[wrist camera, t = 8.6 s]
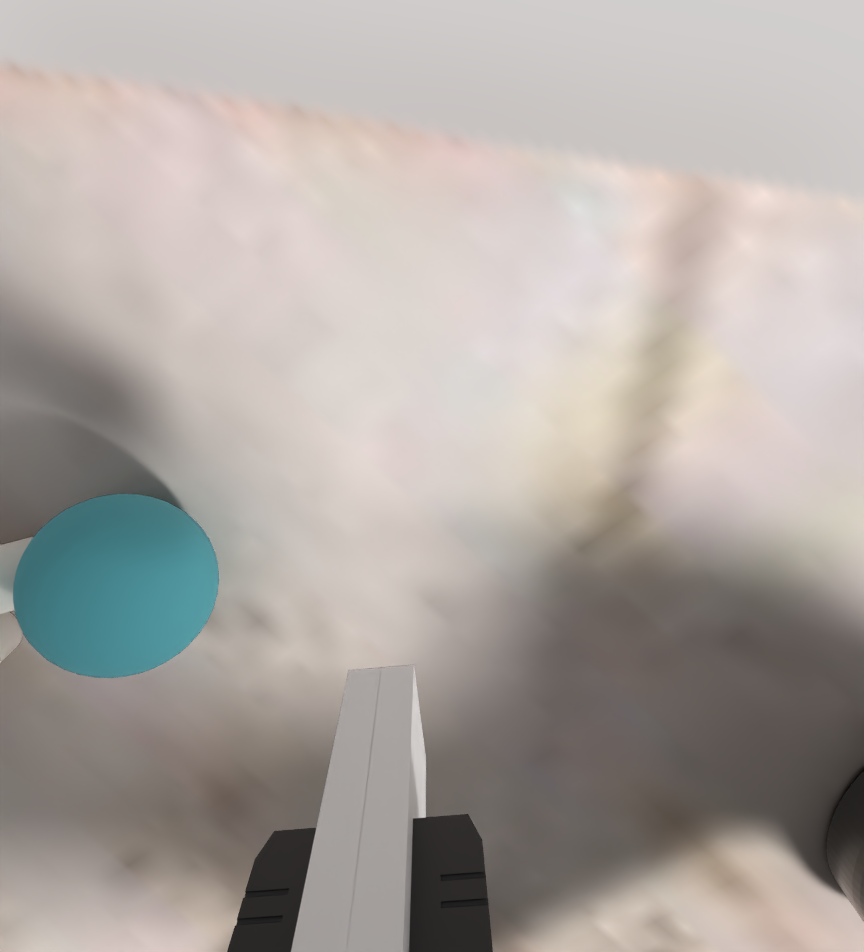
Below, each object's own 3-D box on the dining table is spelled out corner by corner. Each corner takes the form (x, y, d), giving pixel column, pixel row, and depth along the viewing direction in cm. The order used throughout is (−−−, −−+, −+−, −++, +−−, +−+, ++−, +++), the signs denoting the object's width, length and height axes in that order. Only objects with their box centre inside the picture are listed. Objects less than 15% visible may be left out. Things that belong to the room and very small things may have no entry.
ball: (-61, 534, 17) (120, 460, 22) (18, 689, 20) (166, 591, 24) (51, 568, 14) (231, 474, 19) (127, 745, 17) (271, 622, 21)
